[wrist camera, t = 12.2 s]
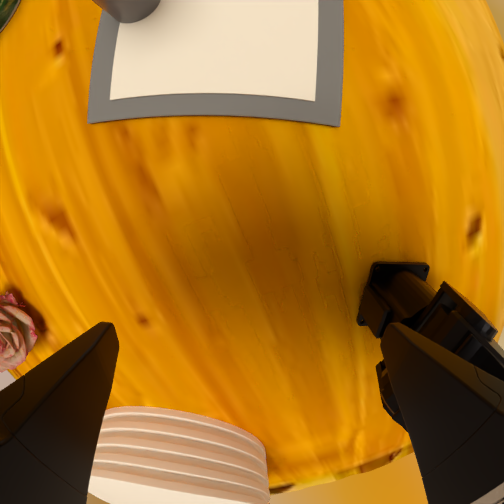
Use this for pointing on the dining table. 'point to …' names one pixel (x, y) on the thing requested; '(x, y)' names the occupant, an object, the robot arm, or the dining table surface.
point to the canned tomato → (7, 11)
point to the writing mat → (222, 61)
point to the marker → (128, 9)
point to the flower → (14, 333)
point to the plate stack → (176, 460)
